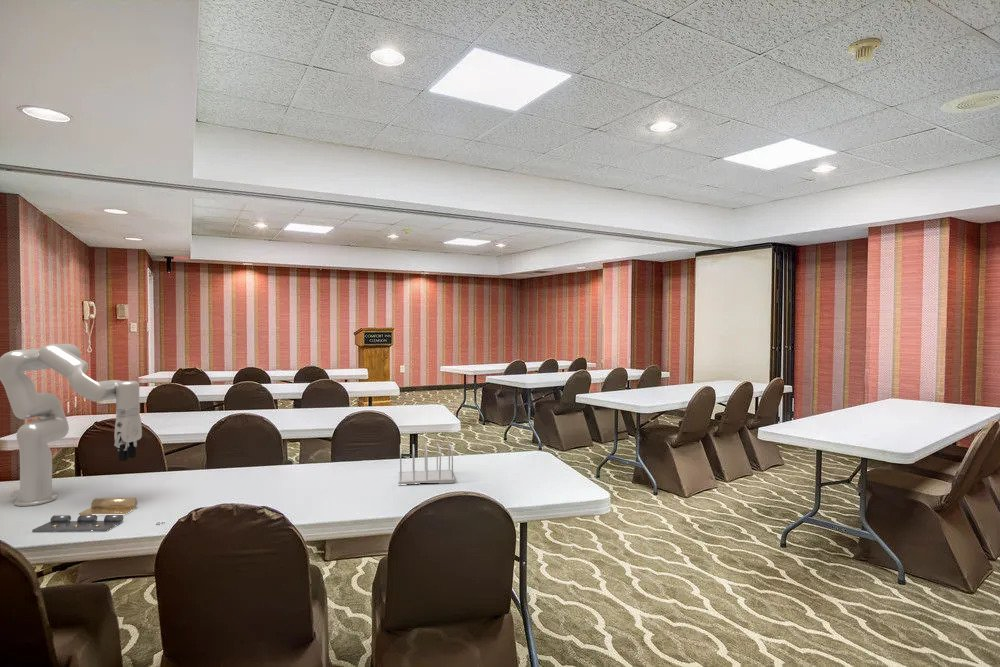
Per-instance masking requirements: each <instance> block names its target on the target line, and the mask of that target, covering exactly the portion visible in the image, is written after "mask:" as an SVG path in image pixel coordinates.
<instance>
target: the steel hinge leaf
mask: <svg viewBox="0 0 1000 667" xmlns="http://www.w3.org/2000/svg"><path fill="white" fill-rule="evenodd" d="M103 518H104V519H103V520H98V516H96V515H80V516H79V515H78V517H77V519H76V520H72V516H71V515H70V514H69V515H68V514H66V515H62V514H61V515H57V514H56V515H52V516H51V517H50V521H48V522H46V523H44V524H42V525H40V526H37V527H35V528H33V529H32V530H31V531H32V533H55V532H54V531H91V530H93V531H107V530H108V529H110V528H112V527H114V526H115V525H117V524H119V523H121V522H122V523H123V521H124V516H123V515H106V516H104V517H103ZM122 523H121V524H122ZM119 525H120V524H119ZM117 526H118V525H117ZM114 528H115V527H114ZM112 529H113V528H112ZM110 530H111V529H110ZM108 531H109V530H108ZM108 531H107V532H108Z"/></svg>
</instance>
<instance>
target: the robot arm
mask: <svg viewBox="0 0 1000 667" xmlns="http://www.w3.org/2000/svg"><path fill="white" fill-rule="evenodd" d="M81 354H82V353H81V350H80V349H79V347H78V346H76V345H74V344H73V343H52V344H51V343H50V344H47V345H44V346H42V347H41V348H37V349H36V348H31V349H29V348H27V349H15V350H11V351H8V352H6V353H3V354H2V355H1V356H0V382H1V384H2V386H3V387H4V390H5V393H6V396H7V398H8V402H9V404H10V407H11V409H12V414H14V416H15V417H16V418H17V419H19V420H30V419H36V418H39V419H38V420H33V421H29V422H26V423H24V424H22V425H20V427H19V428H18V429H17V431H16V434H15V435H16V440H17V441H16V442H17V446H18V451H19V490H17V489H16V490H13V491H12V493H11V494H10V497H11V498H14V497H15V498H16V499H15V501H14V505H15V506H18V507H29V506H30V507H31V506H38V505H43V504H47V503H50V502H53V501H55V500H56V499H57V498H58V495H57V494H56V493H53V454H52V453H53V452H52V450H51V448H50V446H49V445H48V443H51V442H56V441H60V440H62V439H63V438H65V437H66V436H67V435H68V433H69V423H68V418H67V417H66V414H65V413H66V412H65V410H64V407H63V405H62V403H61V401H60V399H59V397H58V396H57V395H56V394H53V393H51V392H46V391H45V392H44V391H43V392H38V391H37V389H36V386H35V384H34V382H33V380H32V379H31V378H30V377H29V376H28V375H27V374H26V373H25V372H31V371H40V370H42V371H43V370H48V369H52V370H54V372H57V373H58V374H60V375H61V376H63V377H65V378H66V379H68V380H67V381H68V383H69V385H70V388H71V389H72V390H73V391H74V392H75V393H76V394H77V395H79V396H81V397H82V398H85V399H86V400H88V401H91V402H96V403H97V402H103V401H108V400H110V401H111V400H115V425H114V434H113V435H114V444H113V445H114V447H115V448H117V452H118V461H119V462H127V461H129V459H132V458H133V459H134V458H135V459H136V458H137V447H138V442H139V440H141V439H142V437H143V427H142V426H143V425H142V419H141V415H140V382H139V381H136V380H119V379H109V380H101V381H96V380H94V379H93V378H91V377H89V376H88V375H87V374H86V373H87V371H88V368H89V364H88V362H87V361H85V360H84V359H82V358H81V357H82V355H81Z"/></svg>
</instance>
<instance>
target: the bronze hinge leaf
mask: <svg viewBox="0 0 1000 667" xmlns="http://www.w3.org/2000/svg"><path fill="white" fill-rule="evenodd" d="M137 505H138V499H137V497H94V499H93V500H92V502H91V506H90V507H89V508H87V509H85V510H82V511H80V512H78V516H79V515H92V514H126V513H128V512H130V511H131V510H133V509H135V508H136V509H137ZM130 513H131V512H130ZM128 514H129V513H128ZM126 515H127V514H126Z"/></svg>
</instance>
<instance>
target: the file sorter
mask: <svg viewBox="0 0 1000 667" xmlns="http://www.w3.org/2000/svg"><path fill="white" fill-rule="evenodd" d="M441 450H442V449H441V447H440V444H439V443H438V442H437V443H436V469H434V470H428V447H427V443H424V470H415V466H416V465H415V460H416V459H415V454H416V453H415V444H412V470H411V471H402V444H399V472H398V485H399V484H415V483H417V484H419V483H439V484H454V483H456V479H455V477H454V451H453V450H454V449H453V446H452V445H451V443H448V469H441V467H442V466H441V465H442V451H441ZM419 485H420V484H419Z"/></svg>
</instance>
